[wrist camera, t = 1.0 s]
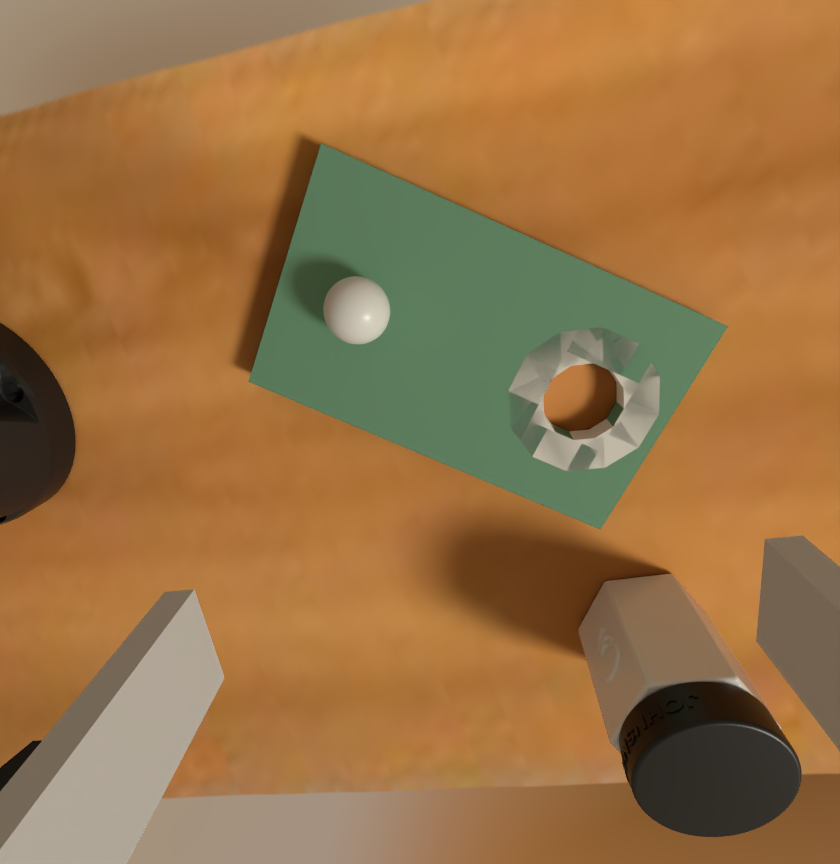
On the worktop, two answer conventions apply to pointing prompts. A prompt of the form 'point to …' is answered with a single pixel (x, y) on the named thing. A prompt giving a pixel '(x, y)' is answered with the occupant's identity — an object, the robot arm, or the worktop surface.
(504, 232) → the mat
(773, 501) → the worktop surface
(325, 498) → the worktop surface
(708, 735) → the jar
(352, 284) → the ball
